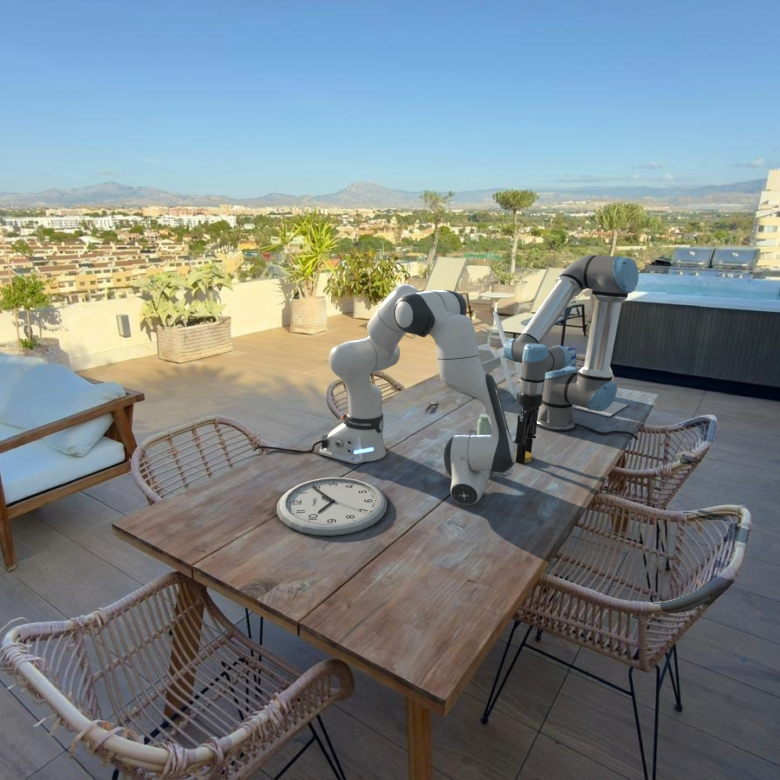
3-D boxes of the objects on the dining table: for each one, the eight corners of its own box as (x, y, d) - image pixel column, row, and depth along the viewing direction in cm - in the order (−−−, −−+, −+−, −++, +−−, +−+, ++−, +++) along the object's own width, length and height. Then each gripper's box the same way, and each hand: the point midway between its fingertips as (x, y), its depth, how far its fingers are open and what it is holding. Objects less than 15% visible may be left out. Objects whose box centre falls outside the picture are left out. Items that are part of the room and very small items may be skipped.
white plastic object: (461, 429, 252) (437, 405, 227) (444, 352, 274) (420, 323, 250) (535, 404, 240) (518, 377, 215) (510, 326, 262) (492, 293, 237)
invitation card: (608, 416, 214) (573, 407, 224) (608, 416, 214) (573, 408, 224) (628, 404, 229) (594, 396, 238) (628, 405, 229) (594, 397, 238)
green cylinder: (479, 476, 161) (483, 418, 155) (471, 470, 165) (475, 414, 159) (491, 474, 163) (496, 417, 157) (483, 468, 167) (487, 412, 161)
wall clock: (392, 527, 129) (268, 531, 127) (391, 533, 130) (269, 537, 127) (383, 473, 158) (282, 475, 155) (383, 478, 158) (282, 480, 156)
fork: (422, 411, 216) (422, 407, 215) (433, 400, 230) (433, 396, 230) (428, 412, 215) (429, 407, 215) (438, 401, 230) (439, 396, 229)
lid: (528, 455, 176) (528, 450, 176) (533, 462, 171) (534, 457, 171) (513, 456, 176) (513, 451, 175) (518, 463, 171) (519, 458, 170)
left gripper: (512, 466, 146) (518, 447, 158) (441, 454, 152) (452, 437, 165) (511, 486, 148) (516, 466, 160) (440, 474, 154) (451, 456, 167)
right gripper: (529, 384, 176) (522, 447, 183) (508, 397, 161) (501, 465, 168) (551, 388, 172) (543, 453, 179) (532, 401, 157) (524, 472, 164)
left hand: (483, 451), depth 163 cm, fingers closed on green cylinder, 4 cm apart
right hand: (523, 459), depth 173 cm, fingers open, 5 cm apart
